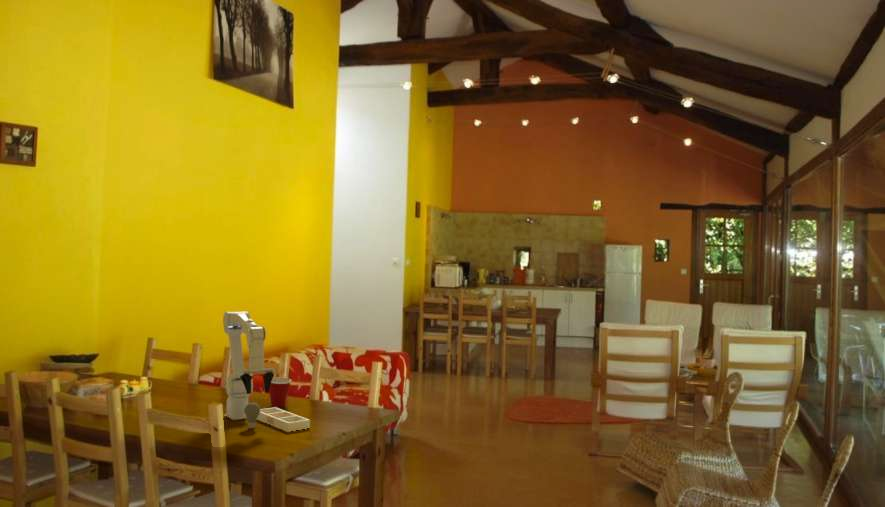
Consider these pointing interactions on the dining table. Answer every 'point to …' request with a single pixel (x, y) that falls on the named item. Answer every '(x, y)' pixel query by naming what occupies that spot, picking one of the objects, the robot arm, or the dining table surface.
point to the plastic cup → (279, 391)
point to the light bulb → (252, 413)
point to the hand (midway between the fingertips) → (257, 393)
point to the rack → (283, 419)
